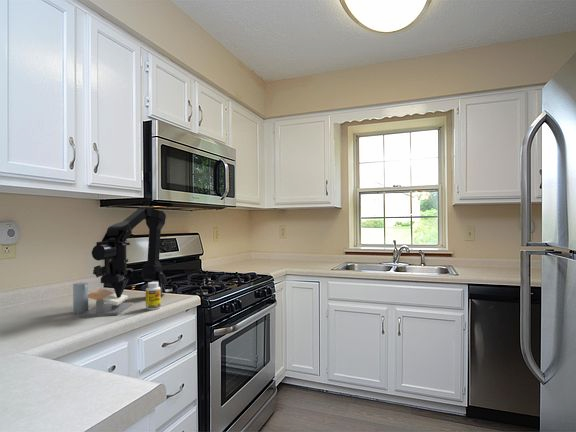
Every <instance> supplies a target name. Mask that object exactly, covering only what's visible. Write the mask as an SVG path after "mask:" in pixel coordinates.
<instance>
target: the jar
mask: <svg viewBox="0 0 576 432" xmlns="http://www.w3.org/2000/svg"><path fill="white" fill-rule="evenodd" d="M88 294H89V282H88V281H86V282H85V281H82V282H74V283H73V284H72V313H73V314H79V315H80V314H82V313H84V312H85V311H87V310H89V298H87V297H88Z"/></svg>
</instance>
